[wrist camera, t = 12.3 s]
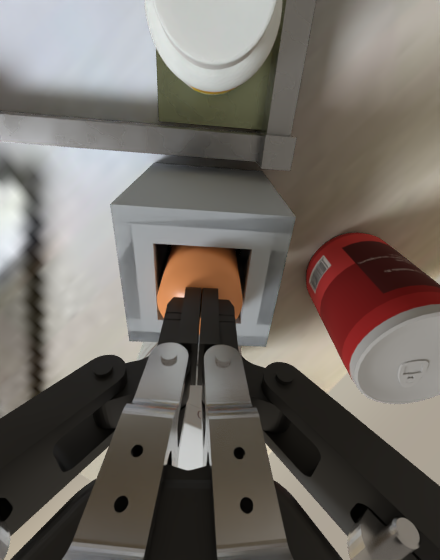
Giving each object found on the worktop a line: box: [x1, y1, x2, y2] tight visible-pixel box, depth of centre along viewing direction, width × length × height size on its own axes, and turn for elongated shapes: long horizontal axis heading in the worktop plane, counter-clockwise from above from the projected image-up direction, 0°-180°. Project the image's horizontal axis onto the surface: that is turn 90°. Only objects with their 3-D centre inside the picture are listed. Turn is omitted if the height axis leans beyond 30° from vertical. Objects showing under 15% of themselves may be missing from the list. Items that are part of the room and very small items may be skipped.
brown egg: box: [157, 245, 243, 335], centre depth 16 cm, size 4×4×6 cm
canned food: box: [306, 232, 440, 404], centre depth 21 cm, size 8×8×11 cm
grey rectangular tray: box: [0, 0, 316, 171], centre depth 14 cm, size 23×12×4 cm, turn 86°
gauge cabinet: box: [110, 163, 296, 347], centre depth 18 cm, size 8×8×10 cm
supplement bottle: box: [145, 0, 282, 95], centre depth 12 cm, size 5×5×10 cm
